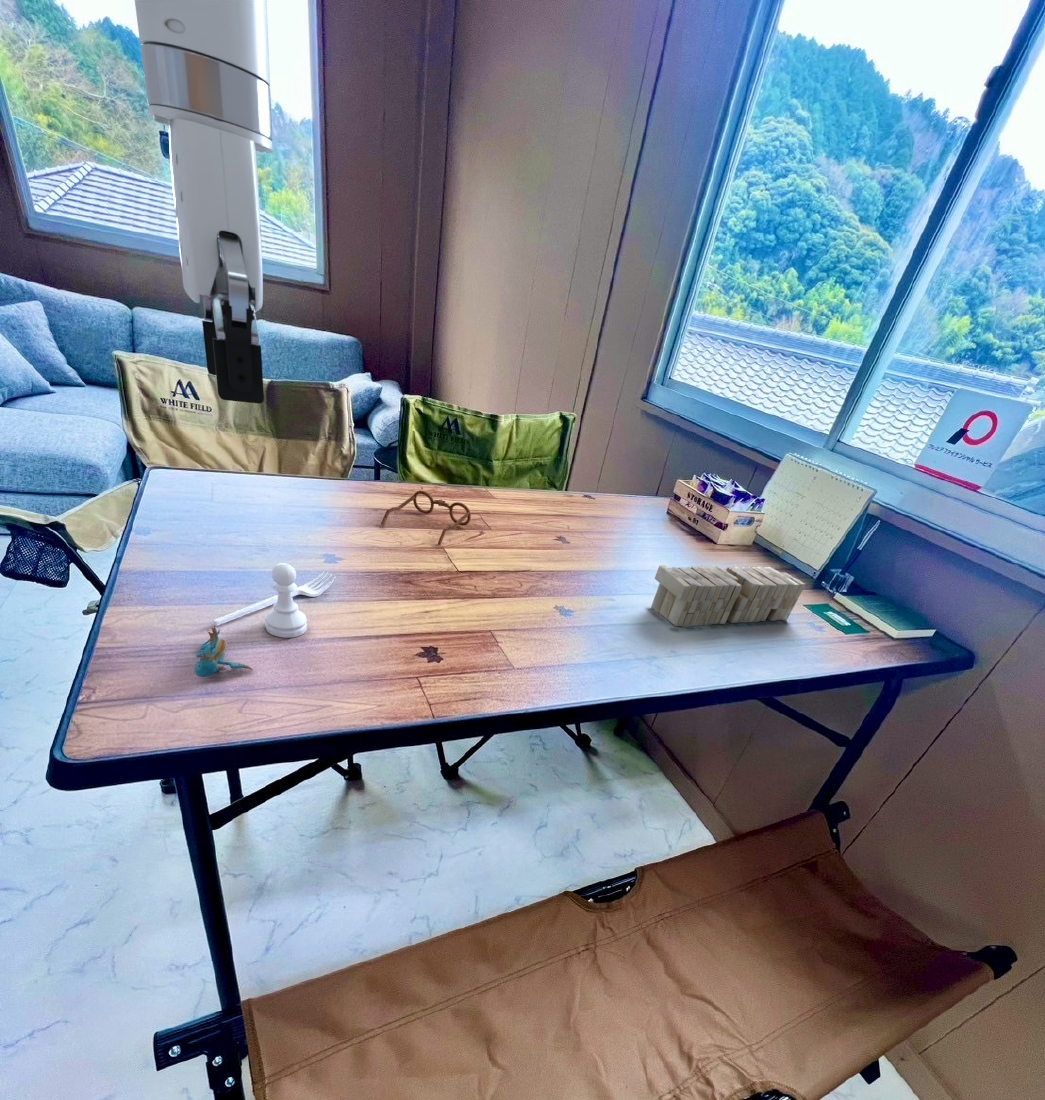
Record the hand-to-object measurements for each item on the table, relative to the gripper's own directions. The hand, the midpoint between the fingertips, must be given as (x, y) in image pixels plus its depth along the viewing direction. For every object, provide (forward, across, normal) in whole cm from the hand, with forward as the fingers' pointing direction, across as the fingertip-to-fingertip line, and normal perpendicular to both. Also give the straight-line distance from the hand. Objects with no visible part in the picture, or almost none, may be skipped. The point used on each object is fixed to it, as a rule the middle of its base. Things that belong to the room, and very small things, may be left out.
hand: (234, 387), depth 49 cm
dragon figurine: (+31, -5, -4) cm, 31 cm away
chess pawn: (+31, -12, +5) cm, 33 cm away
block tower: (+31, -7, +79) cm, 85 cm away
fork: (+31, -19, +5) cm, 36 cm away
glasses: (+31, -48, +37) cm, 68 cm away
